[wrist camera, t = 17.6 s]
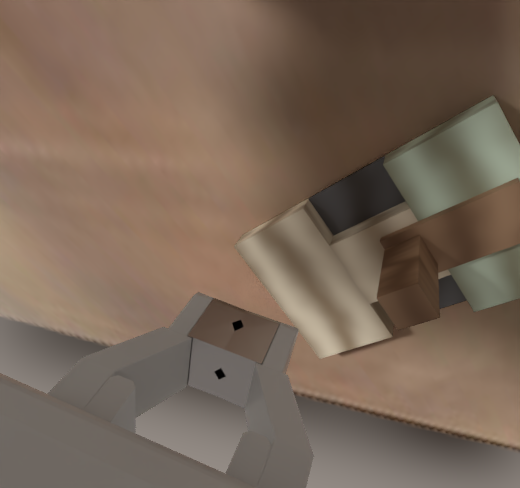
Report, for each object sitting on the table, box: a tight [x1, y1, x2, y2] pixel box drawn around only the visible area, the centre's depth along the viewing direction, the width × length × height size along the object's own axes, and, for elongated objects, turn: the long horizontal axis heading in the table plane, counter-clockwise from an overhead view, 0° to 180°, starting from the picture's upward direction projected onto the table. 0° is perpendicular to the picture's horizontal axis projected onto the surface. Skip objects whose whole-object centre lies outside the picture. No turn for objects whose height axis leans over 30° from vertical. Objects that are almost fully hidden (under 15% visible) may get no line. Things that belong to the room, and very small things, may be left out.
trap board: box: [234, 95, 520, 359], centre depth 49 cm, size 32×20×3 cm, turn 128°
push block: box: [377, 178, 520, 330], centre depth 39 cm, size 14×6×10 cm, turn 128°
